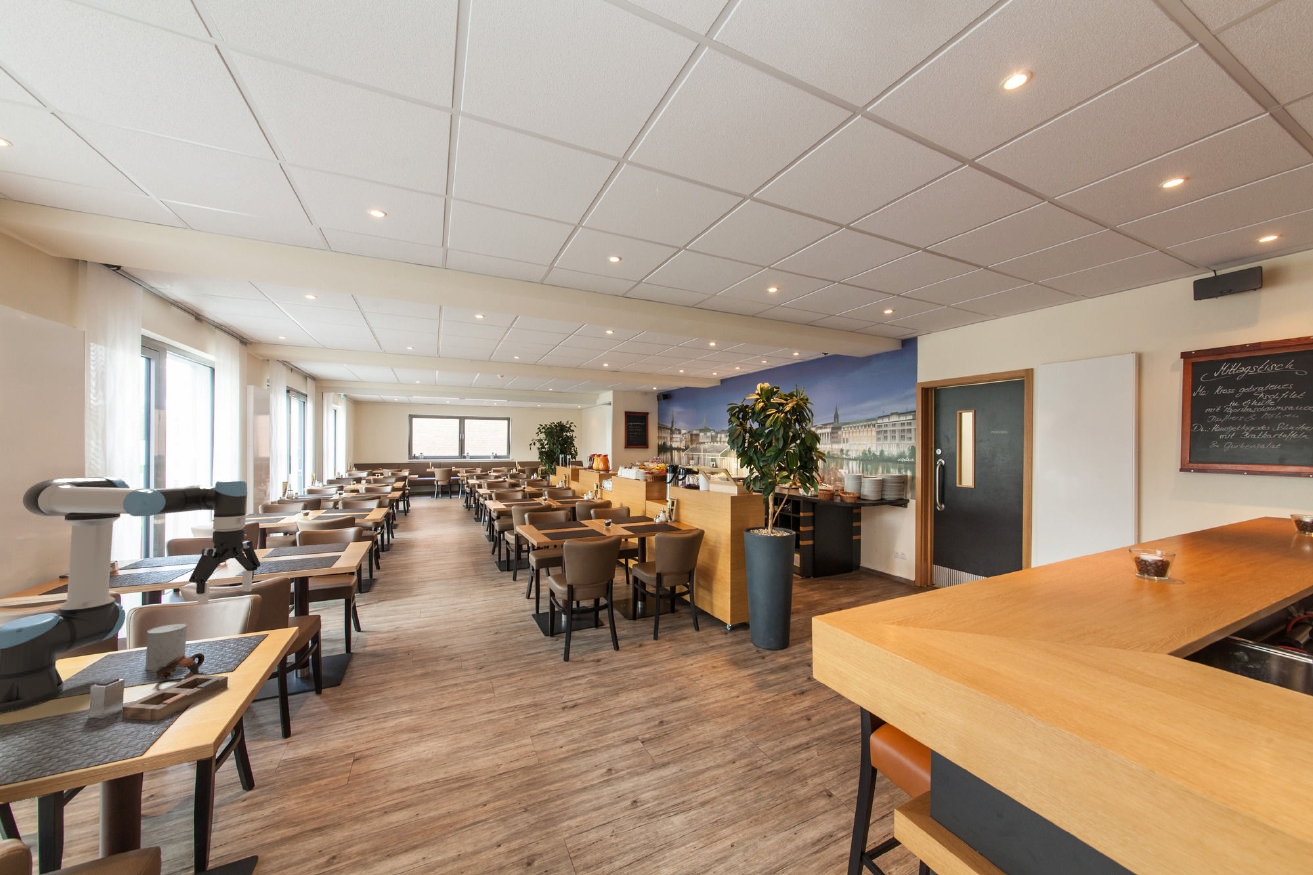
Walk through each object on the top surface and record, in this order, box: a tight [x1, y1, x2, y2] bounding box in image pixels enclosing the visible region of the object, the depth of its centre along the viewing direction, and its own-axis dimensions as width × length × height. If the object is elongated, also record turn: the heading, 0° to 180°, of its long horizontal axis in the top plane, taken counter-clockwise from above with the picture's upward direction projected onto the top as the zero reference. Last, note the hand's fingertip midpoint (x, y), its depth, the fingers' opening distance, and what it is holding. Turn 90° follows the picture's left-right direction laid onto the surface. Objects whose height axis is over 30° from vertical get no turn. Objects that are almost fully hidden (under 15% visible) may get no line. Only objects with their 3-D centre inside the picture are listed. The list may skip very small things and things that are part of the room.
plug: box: [88, 677, 125, 719], centre depth 131 cm, size 4×4×9 cm
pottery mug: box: [154, 652, 205, 680], centre depth 152 cm, size 12×10×8 cm
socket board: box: [121, 674, 229, 721], centre depth 137 cm, size 11×19×3 cm, turn 175°
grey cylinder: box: [144, 622, 188, 671], centre depth 161 cm, size 10×10×12 cm
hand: (225, 597), depth 146 cm, fingers open, 13 cm apart
